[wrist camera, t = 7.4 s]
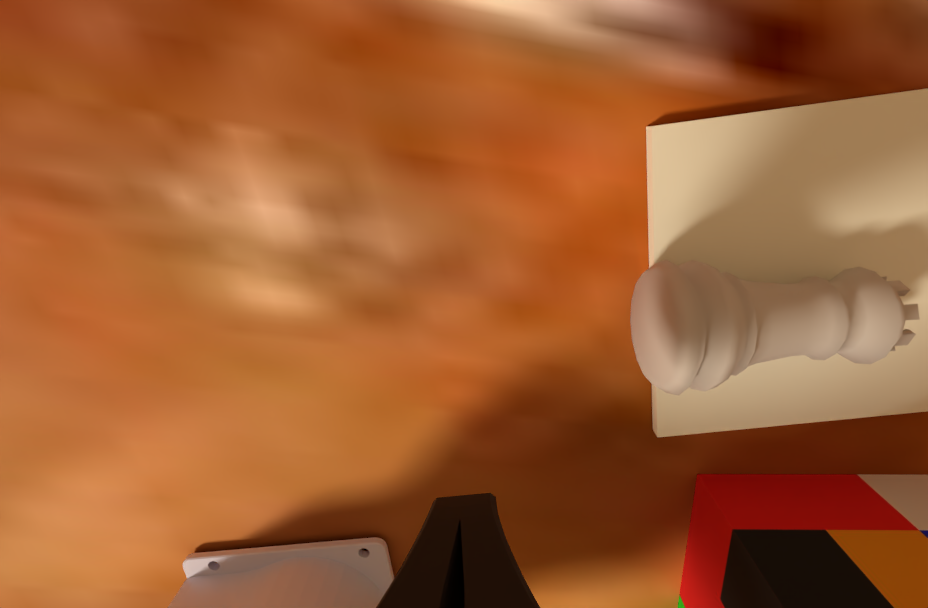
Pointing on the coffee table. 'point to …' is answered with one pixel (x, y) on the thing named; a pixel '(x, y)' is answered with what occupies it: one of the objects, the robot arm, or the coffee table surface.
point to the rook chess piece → (758, 322)
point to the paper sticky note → (798, 243)
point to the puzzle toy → (807, 541)
